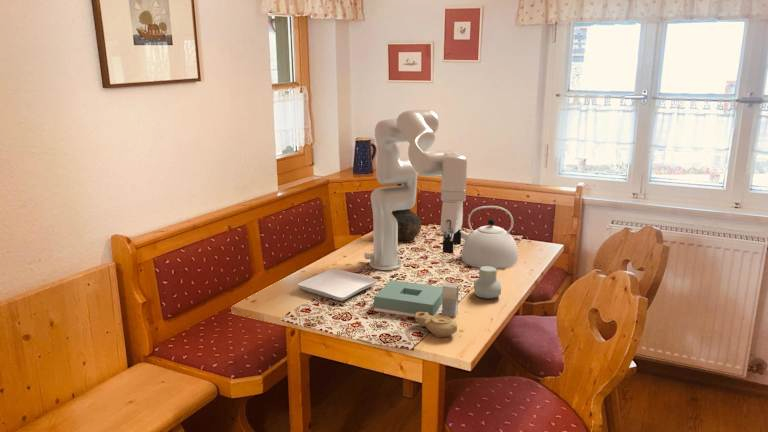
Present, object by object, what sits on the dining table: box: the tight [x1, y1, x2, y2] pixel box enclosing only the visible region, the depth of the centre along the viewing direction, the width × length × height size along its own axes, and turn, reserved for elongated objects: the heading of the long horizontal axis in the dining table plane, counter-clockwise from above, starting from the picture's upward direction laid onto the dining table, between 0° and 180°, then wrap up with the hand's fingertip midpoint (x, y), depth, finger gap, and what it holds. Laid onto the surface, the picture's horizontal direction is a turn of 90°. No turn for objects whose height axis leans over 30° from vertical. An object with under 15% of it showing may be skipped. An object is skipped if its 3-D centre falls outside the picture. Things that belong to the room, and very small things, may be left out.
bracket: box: [441, 282, 460, 318], centre depth 201 cm, size 4×3×10 cm, turn 69°
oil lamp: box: [414, 312, 458, 338], centre depth 190 cm, size 11×14×5 cm
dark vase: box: [392, 184, 422, 242], centre depth 280 cm, size 18×18×28 cm
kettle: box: [461, 205, 519, 269], centre depth 253 cm, size 25×23×22 cm
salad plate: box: [296, 268, 378, 302], centre depth 223 cm, size 21×21×3 cm
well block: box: [373, 279, 443, 318], centre depth 209 cm, size 20×16×5 cm
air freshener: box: [473, 266, 502, 299], centre depth 217 cm, size 11×8×10 cm
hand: (451, 248), depth 197 cm, fingers open, 9 cm apart
